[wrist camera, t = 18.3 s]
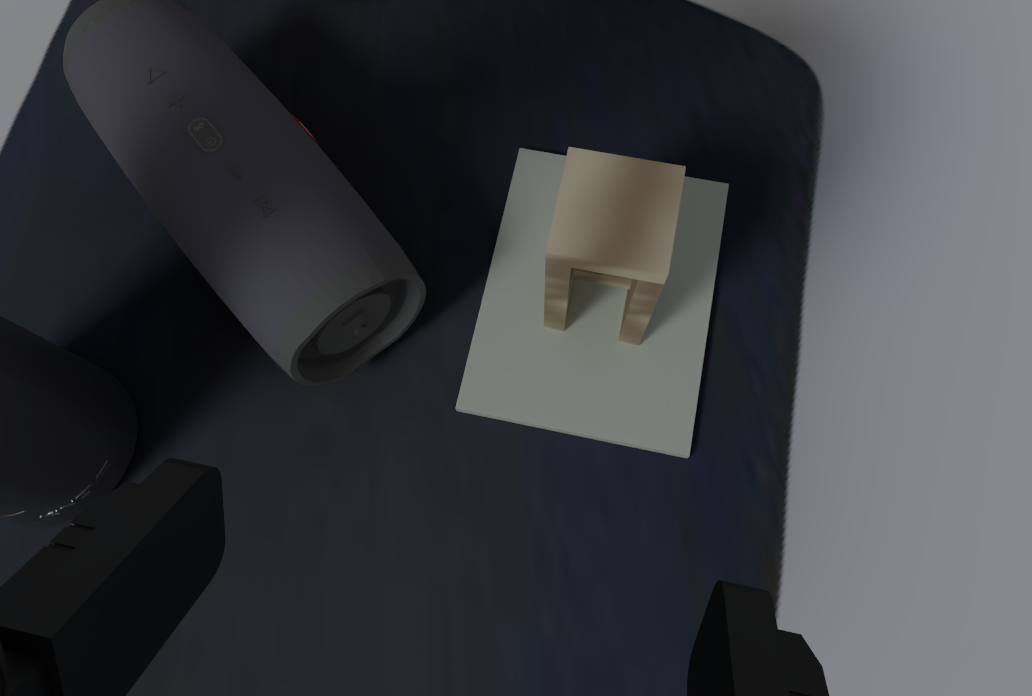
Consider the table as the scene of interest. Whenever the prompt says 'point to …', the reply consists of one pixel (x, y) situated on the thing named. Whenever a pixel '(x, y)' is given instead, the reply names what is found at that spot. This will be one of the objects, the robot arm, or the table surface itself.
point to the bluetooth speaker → (242, 188)
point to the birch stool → (612, 234)
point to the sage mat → (592, 328)
